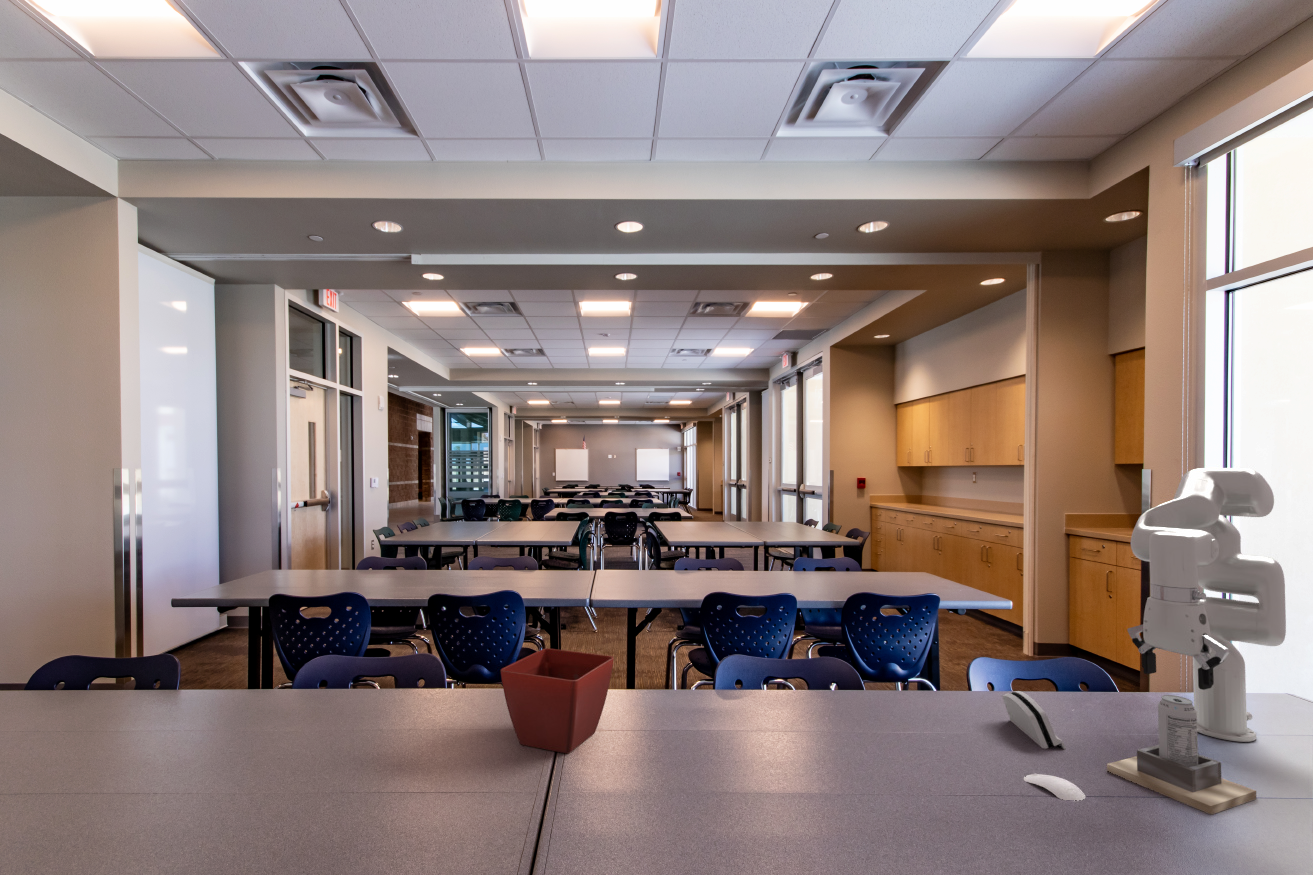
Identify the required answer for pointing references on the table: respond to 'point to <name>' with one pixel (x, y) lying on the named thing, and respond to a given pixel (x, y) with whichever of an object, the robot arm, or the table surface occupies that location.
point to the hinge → (1030, 719)
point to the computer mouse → (1057, 786)
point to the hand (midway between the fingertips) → (1176, 680)
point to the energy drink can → (1178, 730)
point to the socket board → (1183, 780)
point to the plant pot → (556, 697)
